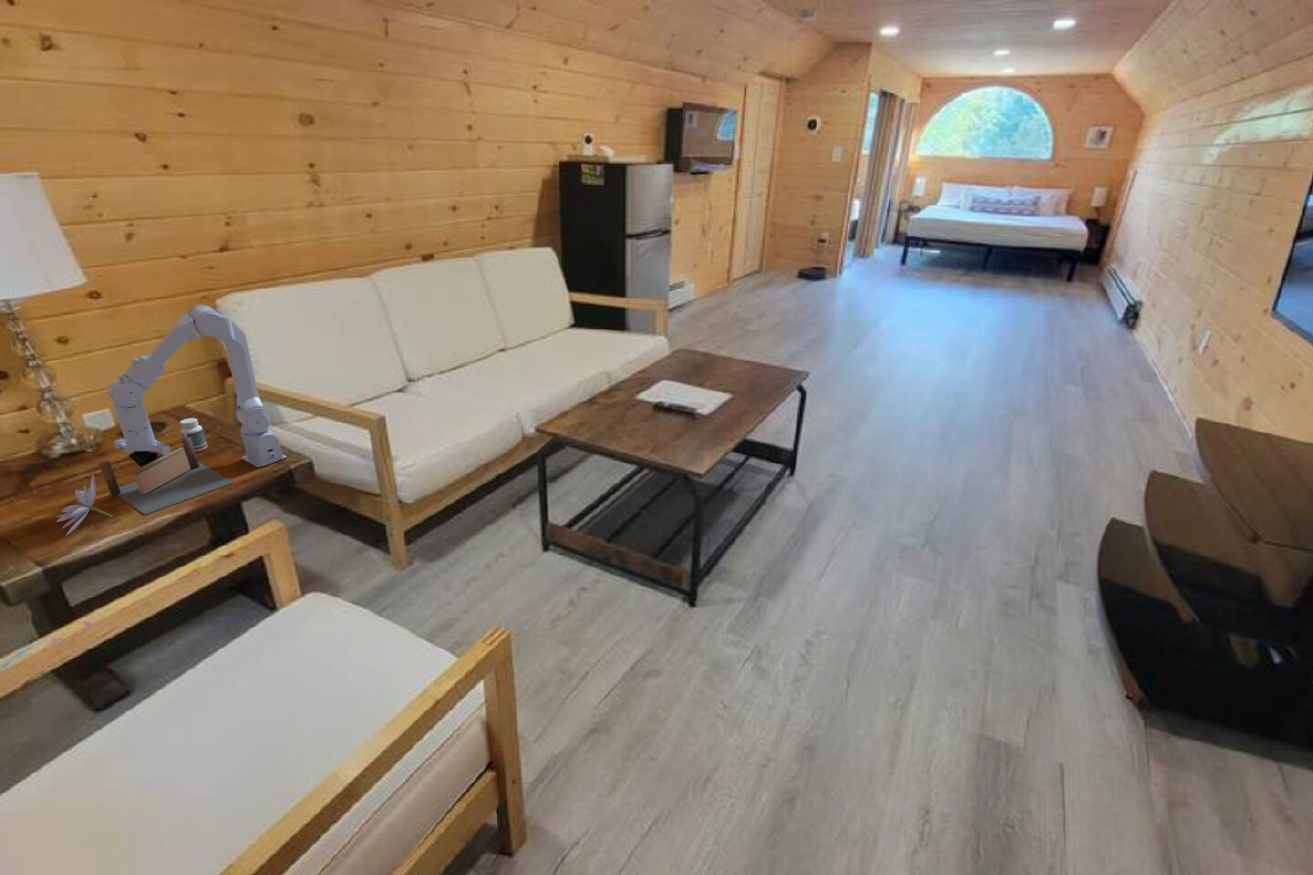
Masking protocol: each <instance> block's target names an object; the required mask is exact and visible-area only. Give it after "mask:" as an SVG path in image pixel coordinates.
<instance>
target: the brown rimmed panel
mask: <svg viewBox="0 0 1313 875" xmlns="http://www.w3.org/2000/svg"><path fill="white" fill-rule="evenodd" d="M188 470H190V466H189V462H188V458H187V455H186V452H185V449H184V446H180V447H178V448H177V449H174V450H171V453H169V454H166V455H161V456H160V457H157V459H156V460H154V461H152V462H150V463H148V464H146V465H144V466H142V467H140V466H139V467H138V468H137V469H135V470H133V471H132V472H133V476H134V478H135V482H137V485H138V488H139V491H140V493H141V494H146V493H148V492H150V491H152V490H153V489H155V488H157V487H159V486H161V485H163V484H164V483H166V482H168V481H170V480H172V479H173V478H175V477H177V476H179V475H181V474H183V473H184V472H186V471H188Z"/></svg>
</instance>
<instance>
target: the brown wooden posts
mask: <svg viewBox="0 0 1313 875" xmlns="http://www.w3.org/2000/svg"><path fill="white" fill-rule="evenodd" d="M181 441H182V445H183V448H184V451H185V453H186V456H187V460H188V463H189V465H190V468H191V469H196V468H199V464H198V462H199V460H198V458H197V454H196V452H195V450H194V447H193V444H192V440H191V437H185V438H182V437H181ZM98 464H99V467H100V470H101V472H102V476H103V479H104V480H105V483H106V485H107V488H108V491H109V494H110V496H111V497H117V496H118V495H117V494H120V493H121V491H120V489H119V487H120V486H119V484H118V481H117V478H116V475H115V473H114V469H113V468H112V465H111V461H110V460H104V461H100V462H99V463H98ZM118 497H119V496H118Z"/></svg>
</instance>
